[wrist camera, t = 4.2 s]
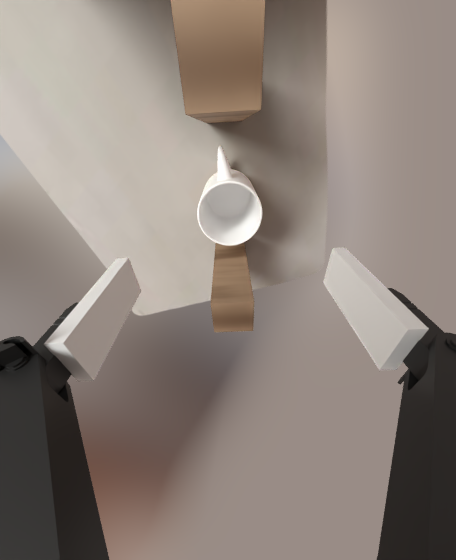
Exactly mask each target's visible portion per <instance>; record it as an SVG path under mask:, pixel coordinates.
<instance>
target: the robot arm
mask: <svg viewBox="0 0 456 560" xmlns="http://www.w3.org/2000/svg"><path fill="white" fill-rule="evenodd" d="M323 283H324V285H325V286H326V288H327V289H328V291H329V293H330V294H331V296H332V297H333V299H334V300H335V302H336V304H337V305H338V307H339V308H340V310H341V311H342V313H343V314H344V316H345V318H346V319H347V320H348V322H349V323H350V325H351V327H352V328H353V330H354V331H355V333H356V335H357V336H358V337H359V339H360V341H361V342H362V344H363V345H364V347H365V348H366V350H367V352H368V353H369V355H370V356H371V358H372V359H373V361H374V362H375V364H376V365H377V367H378V369H379V370H397V369H398V367H399V366H400V365H401V364H402V362H404V363H405V365H406V366H407V367H408V368H409V369H408V370H407V371H406V372H405V374H404V375H403V376H402V377H401V378H400V380H399V381H398V383H399V384H401V383H402V382H403V381H404V386H403V392H402V399H401V405H400V412H399V418H398V426H397V432H396V438H395V445H394V452H393V458H392V465H391V471H390V478H389V485H388V491H387V498H386V504H385V511H384V518H383V525H382V531H381V537H380V544H379V551H378V556H377V560H456V334H452V333H444V332H443V331H442V330H441V329H440V328H439V327H438V326H437V325H436V324H434V323H433V322H432V321H431V320H430V319H429V318H428V317H427V316H426V315H425V314H424V313H423V312H421V311H420V310H419V309H417V307H416V306H415V305H414V304H413V303H411V302H410V301H409V300H408V299H407V298H406V297H405V296H404V295H403V294H401V293H399V292H397V291H396V290H394V289H392V288H386V287H385V286H384V285H383V284H382V283H381V282H380V281H379V280H378V279H377V278H376V277H375V276H374V275H373V274H372V273H371V272H370V271H368V269H367V268H366V267H365V266H363V265H362V264H361V263H360V262H359V261H358V260H357V259H356V258H355V257H354V256H353V255H352V254H351V253H350V252H349V251H348V250H347V249H346V248H333V249H332V252H331V256H330V260H329V263H328V267H327V270H326V274H325V278H324V281H323ZM140 292H141V289H140V286H139V284H138V281H137V279H136V276H135V273H134V271H133V268H132V265H131V263H130V260H129V258H117V259H116V260H115V261H114V262H113V263H112V265H111V266H110V267H109V268H108V269H107V271H106V272H105V273H104V274H103V275H102V276H101V278H100V279H99V280H98V281H97V282H96V283H95V285H94V286H93V287H92V288H91V289H90V290H89V292H88V293H87V294H86V295H85V296H84V297H83V299H82V300H81V301H80V302H79V303H75V304H73V305H72V306H70V307H69V308H68V309H66V310H65V311H64V312H63V314H62V315H61V316H60V317H59V319H57V320H56V321H55V323H54V325H52V326H51V327H50V328H49V329H48V330H47V332H46V333H45V334H44V335H43V336H42V337H41V338H40V339H39V340H38V342H37V343H36V344H35V345H34V346H33V347H32V346H31V345H30V344H29V343H28V342H27V341H26V340H25V339H24V338H23V337H20V336H16V337H10V338H7V339H4V340H2V341H0V560H109V556H108V552H107V548H106V543H105V539H104V535H103V530H102V525H101V521H100V517H99V512H98V508H97V503H96V499H95V495H94V490H93V486H92V481H91V477H90V472H89V468H88V464H87V459H86V455H85V450H84V446H83V442H82V437H81V432H80V429H79V424H78V419H77V415H76V410H75V406H74V402H73V397H72V393H71V388H70V385H69V384H68V382H67V380H68V379H69V377H70V375H72V376H73V377H74V378H75V379H76V380H77V381H94V379H95V377H96V375H97V373H98V372H99V370H100V368H101V366H102V364H103V362H104V360H105V358H106V356H107V355H108V353H109V351H110V349H111V347H112V345H113V343H114V341H115V339H116V337H117V336H118V334H119V332H120V330H121V328H122V326H123V324H124V322H125V321H126V319H127V317H128V315H129V313H130V311H131V309H132V307H133V305H134V303H135V302H136V300H137V298H138V296H139V294H140Z"/></svg>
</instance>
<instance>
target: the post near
mask: <svg viewBox="0 0 456 560" xmlns="http://www.w3.org/2000/svg"><path fill="white" fill-rule="evenodd" d="M170 1H171V8H172V16H173V23H174V31H175V38H176V46H177V53H178V61H179V68H180V76H181V83H182V91H183V98H184V106H185V113H186V115H188V116H191V117H193V118H196V119H198V120H201V121H203V122H206V123H218V122H234V121H243V120H244V119H246V118H248V117H249V116H251V115H253V114H254V113H256V112H258V111H260V110H261V100H262V72H263V43H264V15H265V0H170Z"/></svg>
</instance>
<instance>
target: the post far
mask: <svg viewBox="0 0 456 560" xmlns="http://www.w3.org/2000/svg"><path fill="white" fill-rule="evenodd" d="M211 309H212V317H213V325H214V331H215V332H233V331H253V318H254V298H253V292H252V286H251V280H250V274H249V268H248V262H247V256H246V250H245V244H244V243H241V244H238V245H233V246H226V245H221V244H218V243H216V247H215V258H214V270H213V282H212V294H211Z"/></svg>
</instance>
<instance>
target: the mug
mask: <svg viewBox="0 0 456 560" xmlns="http://www.w3.org/2000/svg"><path fill="white" fill-rule="evenodd" d="M197 217H198V222H199V225H200V228H201V229H202V231H203V233H204V234H205V235H206V236H207V237H208V238H209V239H211V240H212V241H214V242H215V243H218V244H221V245H226V246H233V245H238V244H241V243H244V242H246V241H247V240H249V239H250V238H251V237H252V236H253V235H254V234H255V233H256V232H257V230H258V228H259V226H260V224H261V220H262V206H261V202H260V200H259V197H258V195H257V193H256V191H255V189H254V187H253V185H252V184H251V182H250V180H249V179H248V178H247V177H246V176H245V175H244V174H243V173H241V172H239V171H237V170H233V169H231V167H230V165H229V162H228V159H227V157H226V154H225V152H224V150H223V148H222V146H221V145H220V146H219V147H218V172H217V173H215V174H214V175H212V176H211V177H210V179H209V180H208V181H207V183H206V185H205V188H204V191H203V193H202V196H201V199H200V202H199V205H198V210H197Z"/></svg>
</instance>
